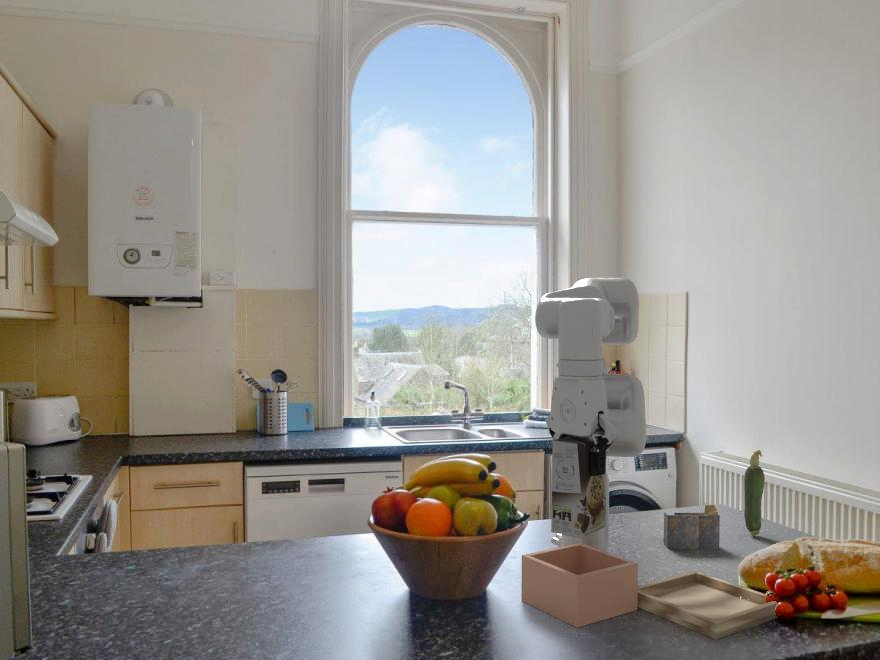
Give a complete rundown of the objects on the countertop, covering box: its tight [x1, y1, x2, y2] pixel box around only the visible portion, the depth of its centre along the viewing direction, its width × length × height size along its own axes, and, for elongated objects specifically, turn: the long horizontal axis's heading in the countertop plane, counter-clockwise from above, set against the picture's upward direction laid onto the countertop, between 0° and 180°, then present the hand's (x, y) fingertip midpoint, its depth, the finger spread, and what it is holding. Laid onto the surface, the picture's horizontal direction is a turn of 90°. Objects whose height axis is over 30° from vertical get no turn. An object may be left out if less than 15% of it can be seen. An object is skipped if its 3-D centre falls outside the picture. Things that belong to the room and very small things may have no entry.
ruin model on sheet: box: [663, 503, 721, 550], centre depth 164 cm, size 25×16×10 cm, turn 89°
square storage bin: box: [520, 543, 639, 628], centre depth 129 cm, size 14×14×8 cm
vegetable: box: [743, 449, 766, 537], centre depth 173 cm, size 4×4×20 cm
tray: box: [637, 570, 779, 641], centre depth 128 cm, size 18×18×2 cm
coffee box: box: [550, 436, 607, 539], centre depth 130 cm, size 9×6×16 cm
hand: (579, 469), depth 130 cm, fingers closed on coffee box, 8 cm apart
